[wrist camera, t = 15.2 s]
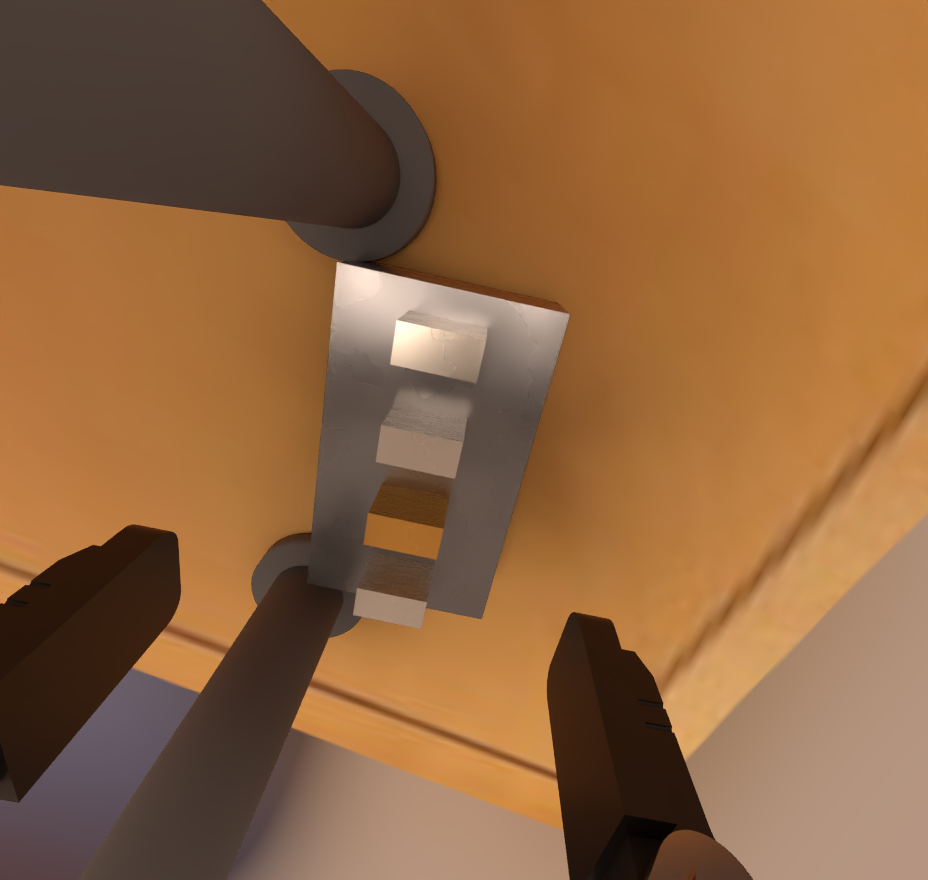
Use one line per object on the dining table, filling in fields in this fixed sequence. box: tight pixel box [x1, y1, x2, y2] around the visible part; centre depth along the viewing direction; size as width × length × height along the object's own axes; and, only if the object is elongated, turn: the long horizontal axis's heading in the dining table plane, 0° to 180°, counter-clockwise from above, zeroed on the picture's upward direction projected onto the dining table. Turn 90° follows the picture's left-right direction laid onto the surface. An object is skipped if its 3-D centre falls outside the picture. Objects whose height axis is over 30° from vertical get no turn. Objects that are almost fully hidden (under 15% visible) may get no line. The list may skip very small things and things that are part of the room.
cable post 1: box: [0, 0, 436, 262], centre depth 9 cm, size 5×5×14 cm
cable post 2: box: [78, 533, 361, 880], centre depth 15 cm, size 5×5×14 cm
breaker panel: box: [307, 260, 570, 629], centre depth 16 cm, size 12×7×5 cm, turn 168°
